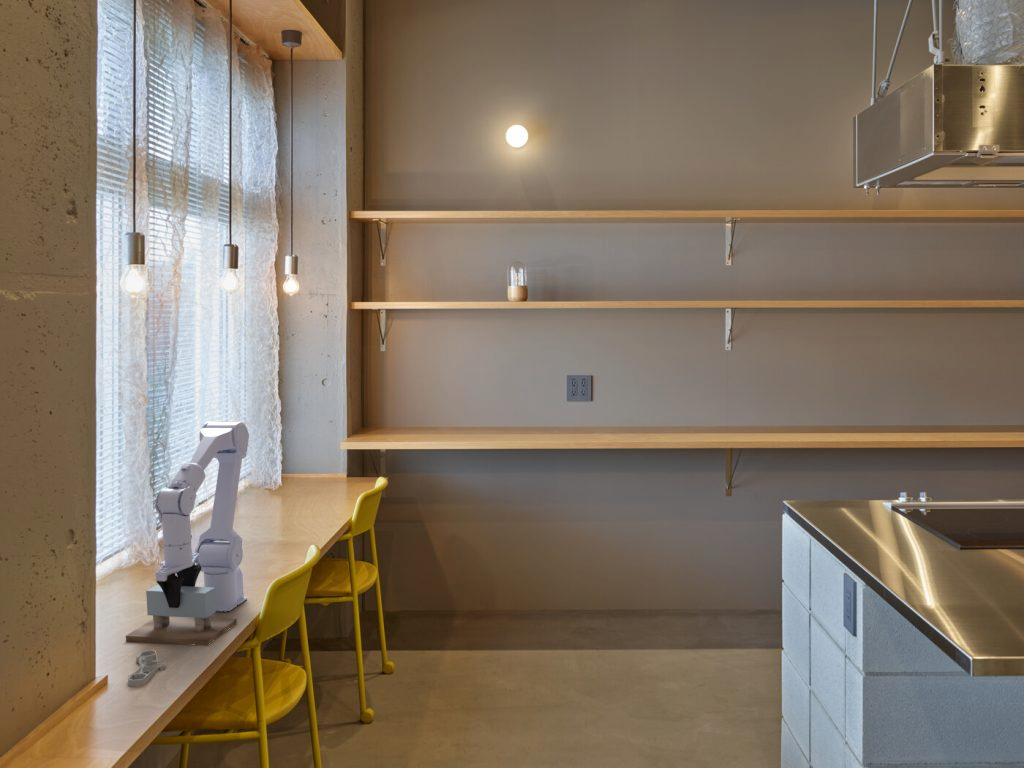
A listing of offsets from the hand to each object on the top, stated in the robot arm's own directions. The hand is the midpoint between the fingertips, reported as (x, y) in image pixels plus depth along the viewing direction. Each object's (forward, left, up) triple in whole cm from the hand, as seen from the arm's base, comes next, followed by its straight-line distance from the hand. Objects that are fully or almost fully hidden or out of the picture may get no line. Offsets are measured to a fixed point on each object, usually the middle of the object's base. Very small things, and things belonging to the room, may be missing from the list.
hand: (181, 603), depth 200 cm
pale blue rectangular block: (0, 0, -2) cm, 2 cm away
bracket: (+20, +4, -7) cm, 22 cm away
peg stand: (0, 0, -7) cm, 7 cm away
